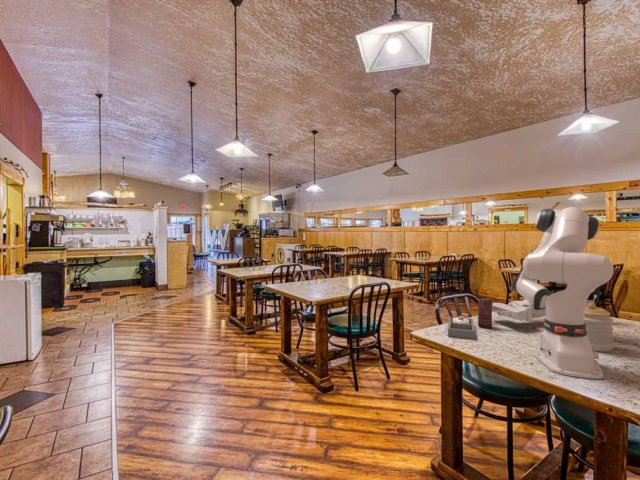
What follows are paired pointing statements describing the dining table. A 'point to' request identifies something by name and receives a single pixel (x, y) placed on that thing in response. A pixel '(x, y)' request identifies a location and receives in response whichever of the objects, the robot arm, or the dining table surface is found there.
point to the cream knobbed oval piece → (460, 320)
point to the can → (485, 312)
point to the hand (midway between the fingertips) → (492, 311)
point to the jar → (599, 328)
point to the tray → (461, 329)
